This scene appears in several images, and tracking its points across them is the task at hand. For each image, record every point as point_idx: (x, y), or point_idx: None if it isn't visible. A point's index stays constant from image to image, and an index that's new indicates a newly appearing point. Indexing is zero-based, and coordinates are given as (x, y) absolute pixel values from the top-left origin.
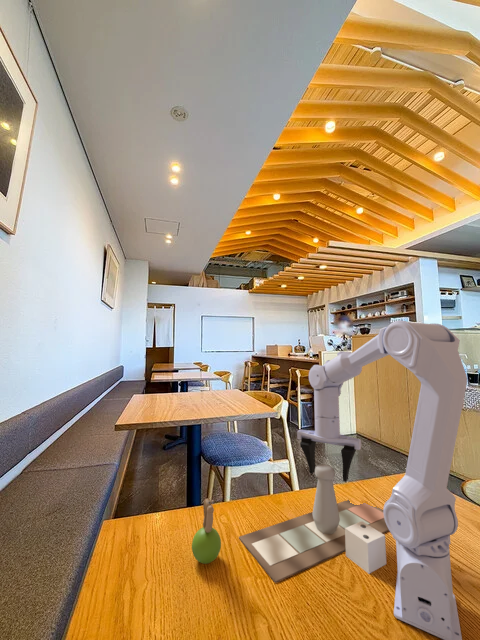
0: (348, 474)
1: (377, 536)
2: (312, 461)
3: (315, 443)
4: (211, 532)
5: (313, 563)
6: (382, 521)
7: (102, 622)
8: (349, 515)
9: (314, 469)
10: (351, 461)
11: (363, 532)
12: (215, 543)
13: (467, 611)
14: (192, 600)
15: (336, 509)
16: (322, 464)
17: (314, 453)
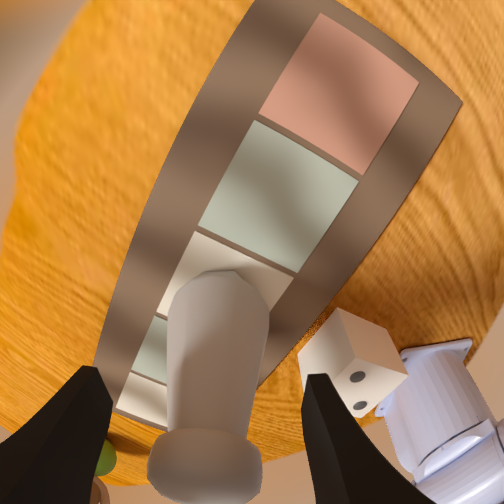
0: (336, 390)
1: (389, 390)
2: (87, 449)
3: (4, 500)
4: (98, 474)
5: None
6: (399, 135)
7: (113, 482)
8: (277, 165)
9: (97, 385)
10: (385, 462)
11: (355, 395)
12: (111, 468)
13: (473, 348)
14: (143, 467)
15: (263, 353)
16: (179, 492)
17: (47, 452)
